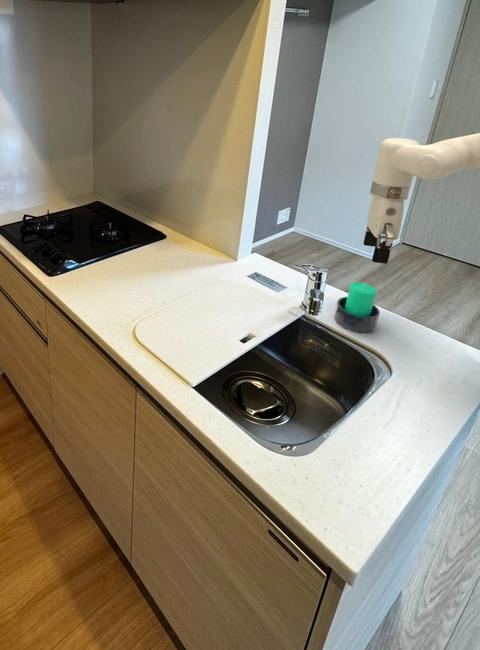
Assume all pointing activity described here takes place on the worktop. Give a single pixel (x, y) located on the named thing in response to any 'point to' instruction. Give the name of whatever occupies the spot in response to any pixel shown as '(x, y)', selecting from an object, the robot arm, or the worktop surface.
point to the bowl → (355, 318)
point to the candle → (360, 299)
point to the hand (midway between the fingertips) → (374, 253)
